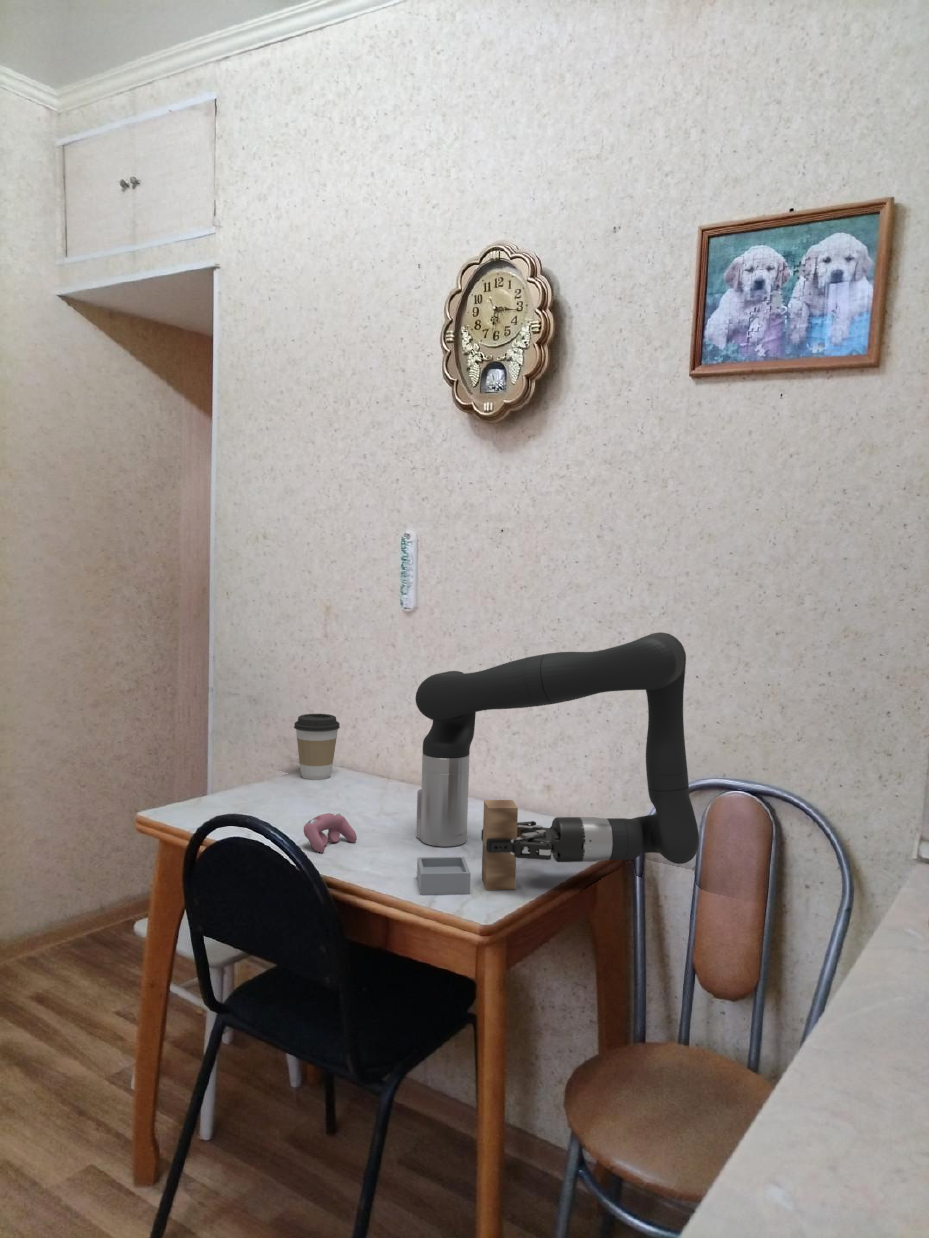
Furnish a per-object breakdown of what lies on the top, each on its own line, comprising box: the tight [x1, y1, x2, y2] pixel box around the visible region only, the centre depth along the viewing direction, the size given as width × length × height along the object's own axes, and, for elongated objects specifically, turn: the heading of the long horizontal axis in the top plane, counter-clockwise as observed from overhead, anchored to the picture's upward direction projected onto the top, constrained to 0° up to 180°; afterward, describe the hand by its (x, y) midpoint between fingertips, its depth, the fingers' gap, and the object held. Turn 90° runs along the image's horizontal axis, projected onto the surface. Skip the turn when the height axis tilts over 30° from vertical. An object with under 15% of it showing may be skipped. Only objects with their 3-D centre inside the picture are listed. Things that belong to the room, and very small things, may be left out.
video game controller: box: [303, 812, 357, 854], centre depth 172 cm, size 10×5×7 cm, turn 141°
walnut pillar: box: [481, 799, 519, 891], centre depth 154 cm, size 5×5×14 cm
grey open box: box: [416, 856, 471, 896], centre depth 153 cm, size 8×8×4 cm
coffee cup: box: [293, 713, 341, 781], centre depth 224 cm, size 11×11×15 cm
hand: (484, 840), depth 154 cm, fingers closed on walnut pillar, 5 cm apart
